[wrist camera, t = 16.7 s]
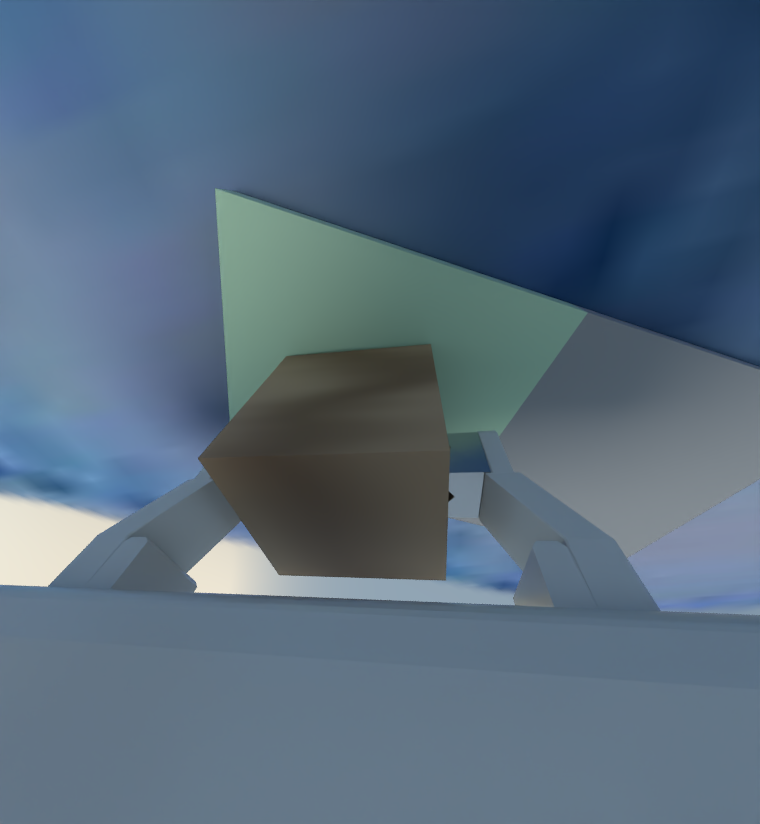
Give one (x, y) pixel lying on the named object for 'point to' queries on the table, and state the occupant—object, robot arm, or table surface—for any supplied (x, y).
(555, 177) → the table surface
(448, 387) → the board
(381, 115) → the table surface
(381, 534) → the walnut block
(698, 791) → the robot arm
